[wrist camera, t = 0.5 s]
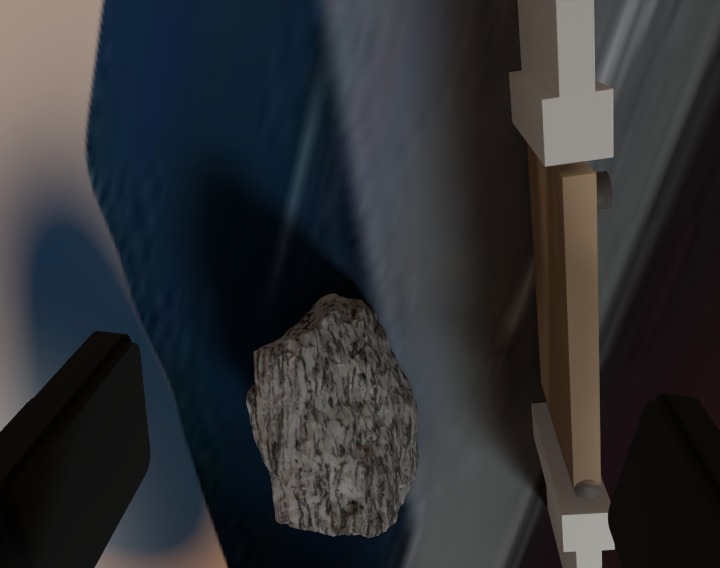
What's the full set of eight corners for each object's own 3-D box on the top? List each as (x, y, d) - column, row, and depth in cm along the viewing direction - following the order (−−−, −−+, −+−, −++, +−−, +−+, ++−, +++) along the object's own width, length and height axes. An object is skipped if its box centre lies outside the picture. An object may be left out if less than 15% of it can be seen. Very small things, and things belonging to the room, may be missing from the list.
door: (578, 122, 31) (636, 167, 22) (585, 386, 37) (632, 496, 29) (525, 130, 31) (562, 177, 23) (540, 390, 37) (574, 500, 29)
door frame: (556, -54, 28) (612, -76, 19) (575, 505, 41) (614, 633, 32) (501, -43, 28) (534, -60, 20) (538, 508, 41) (567, 634, 33)
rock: (272, 253, 35) (218, 377, 26) (421, 256, 34) (413, 385, 25) (301, 443, 44) (267, 579, 35) (420, 450, 42) (413, 591, 34)
